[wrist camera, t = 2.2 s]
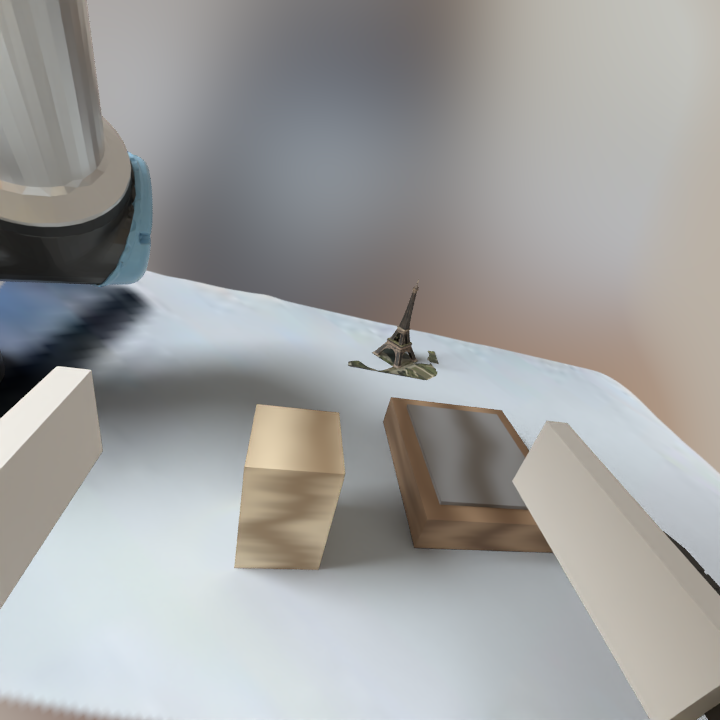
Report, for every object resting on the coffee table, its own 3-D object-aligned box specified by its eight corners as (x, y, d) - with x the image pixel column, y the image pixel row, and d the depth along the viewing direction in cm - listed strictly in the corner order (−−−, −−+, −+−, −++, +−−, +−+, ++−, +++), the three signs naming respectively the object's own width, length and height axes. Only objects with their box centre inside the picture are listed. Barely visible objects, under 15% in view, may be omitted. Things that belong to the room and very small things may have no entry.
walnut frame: (414, 547, 32) (429, 516, 30) (383, 421, 45) (392, 394, 44) (561, 552, 35) (583, 524, 33) (490, 432, 48) (502, 407, 46)
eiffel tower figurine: (345, 369, 55) (366, 280, 48) (346, 337, 64) (364, 258, 57) (445, 387, 57) (478, 304, 50) (432, 353, 66) (459, 279, 59)
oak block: (234, 567, 27) (244, 466, 22) (246, 498, 32) (256, 404, 28) (318, 569, 29) (345, 474, 24) (317, 502, 34) (338, 412, 29)
